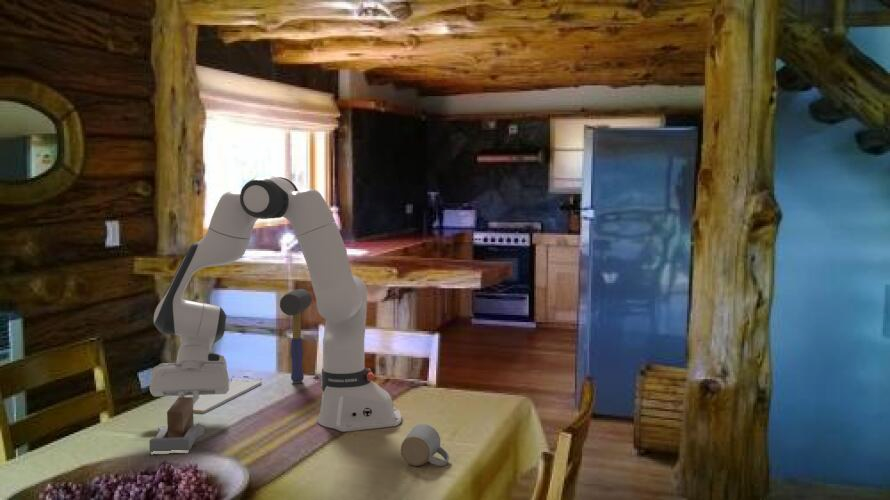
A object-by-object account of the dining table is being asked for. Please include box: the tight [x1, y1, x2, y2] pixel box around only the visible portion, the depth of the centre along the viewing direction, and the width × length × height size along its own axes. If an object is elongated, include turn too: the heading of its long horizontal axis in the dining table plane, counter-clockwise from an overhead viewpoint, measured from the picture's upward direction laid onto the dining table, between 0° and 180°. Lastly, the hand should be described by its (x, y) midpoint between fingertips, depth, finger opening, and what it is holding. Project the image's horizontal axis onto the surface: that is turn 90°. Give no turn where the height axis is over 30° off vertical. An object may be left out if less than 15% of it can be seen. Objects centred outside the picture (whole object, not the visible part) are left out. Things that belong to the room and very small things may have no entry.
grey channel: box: [149, 423, 205, 453], centre depth 178 cm, size 11×14×4 cm
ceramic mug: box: [400, 423, 450, 467], centre depth 166 cm, size 11×8×8 cm
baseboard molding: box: [193, 375, 262, 414], centre depth 218 cm, size 31×3×12 cm
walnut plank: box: [166, 396, 195, 438], centre depth 184 cm, size 4×12×8 cm, turn 8°
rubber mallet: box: [279, 288, 313, 384], centre depth 232 cm, size 12×8×30 cm, turn 172°
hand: (186, 408), depth 191 cm, fingers closed, pressing on walnut plank
